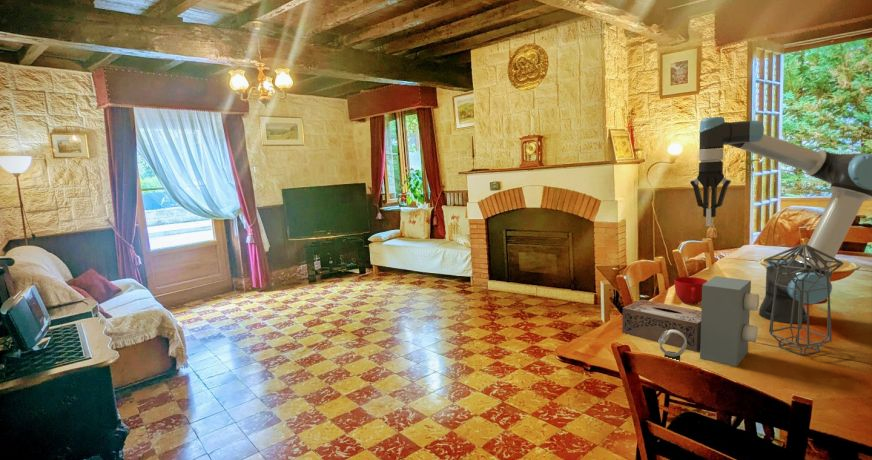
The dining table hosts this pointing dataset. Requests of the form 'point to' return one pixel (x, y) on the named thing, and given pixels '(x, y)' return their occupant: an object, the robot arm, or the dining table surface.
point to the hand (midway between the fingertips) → (709, 225)
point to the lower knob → (749, 333)
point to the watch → (665, 337)
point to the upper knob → (751, 301)
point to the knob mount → (724, 320)
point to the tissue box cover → (663, 323)
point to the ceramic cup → (689, 289)
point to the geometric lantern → (815, 257)
